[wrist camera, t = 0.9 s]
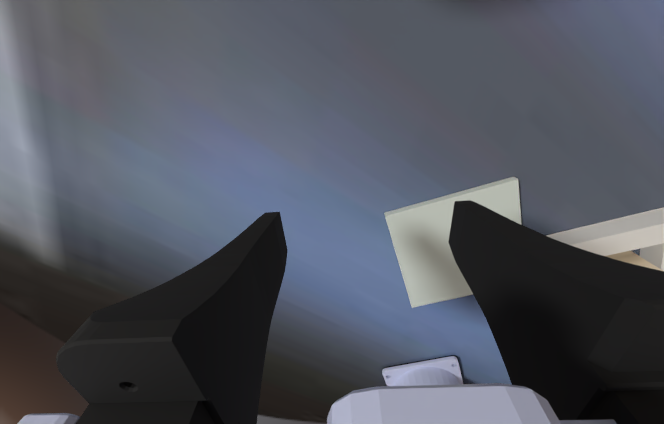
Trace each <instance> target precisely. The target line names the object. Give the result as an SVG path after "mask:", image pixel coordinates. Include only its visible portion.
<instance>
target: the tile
mask: <svg viewBox="0 0 664 424" xmlns="http://www.w3.org/2000/svg"><path fill="white" fill-rule="evenodd" d="M466 200H471V201H473V202H476V203H478V204H480V205H482V206H484V207H486V208H488V209H490V210H492V211H494V212H496V213H498V214H500V215H502V216H504V217H506V218H508V219H510V220H512V221H514V222H516V223H518V224H521V210H520V197H519V184H518V179H517V178H515V177H511V178H507V179H503V180H500V181H496V182H493V183H489V184H486V185H482V186H478V187H475V188H471V189H468V190H464V191H460V192H457V193H453V194H450V195H446V196H443V197H439V198H435V199H432V200H428V201H425V202H421V203H417V204H414V205H410V206H407V207H403V208H400V209H396V210H392V211H389V212H385V213H384V214H385V218H386V221H387V224H388V228H389V231H390V235H391V238H392V241H393V245H394V248H395V252H396V255H397V259H398V262H399V265H400V269H401V272H402V276H403V279H404V282H405V286H406V289H407V293H408V296H409V300H410V303H411V306H412V307H417V306H422V305H426V304H431V303H436V302H440V301H445V300H450V299H454V298H459V297H464V296H468V295H473V293H472V291H471V289H470V287H469V286H468V284H467V282H466V280H465V278H464V277H463V275H462V273H461V271H460V269H459V267H458V266H457V264H456V262H455V259H454V256H453V254H452V251H451V248H450V245H449V243H448V241H449V235H450V228H451V222H452V215H453V209H454V203H455V201H466ZM521 225H522V224H521Z"/></svg>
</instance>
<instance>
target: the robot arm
mask: <svg viewBox="0 0 664 424" xmlns="http://www.w3.org/2000/svg"><path fill="white" fill-rule="evenodd" d="M448 243H449V245H450V248H451V251H452V254H453V256H454V259H455V262H456V264H457V266H458V267H459V269H460V271H461V273H462V275H463V277H464V278H465V280H466V282H467V284H468V286H469V287H470V289H471V291H472V293H473V295H474V296H475V298H476V300H477V302H478V304H479V305H480V307H481V309H482V311H483V313H484V315H485V317H486V319H487V322H488V324H489V326H490V329H491V331H492V333H493V336H494V338H495V341H496V343H497V346H498V348H499V351H500V353H501V356H502V359H503V361H504V364H505V366H506V369H507V372H508V374H509V377H510V380H511V383H512V385H509V384H501V383H494V384H463V380H462V376H461V371H460V367H459V362H458V359H457V357H455V356H449V357H444V358H438V359H433V360H427V361H422V362H416V363H410V364H405V365H399V366H394V367H388V368H384V369H383V370H382V373H383V377H384V379H385V382H386V384H387V386H379V387H372V388H366V389H360V390H355V391H352V392H350V393H349V394H347V395H345V396H344V397H342V398H340V399H338V400H337V401H336V402H335V403H334V404H333V405H332V407H331V409H330V412H329V415H328V418H327V424H664V271H660V270H656V269H651V268H647V267H643V266H639V265H634V264H631V263H627V262H623V261H619V260H616V259H612V258H609V257H605V256H602V255H599V254H595V253H592V252H589V251H586V250H583V249H580V248H577V247H574V246H571V245H569V244H566V243H563V242H560V241H558V240H555V239H552V238H550V237H547V236H545V235H543V234H540V233H538V232H536V231H534V230H531V229H529V228H527V227H525V226H523V225H521V224H518V223H516V222H514V221H512V220H510V219H508V218H506V217H504V216H502V215H500V214H498V213H496V212H494V211H492V210H490V209H488V208H486V207H484V206H482V205H480V204H478V203H476V202H473V201H471V200H466V201H455V203H454V209H453V215H452V222H451V228H450V235H449V241H448ZM286 258H287V246H286V241H285V236H284V231H283V226H282V221H281V216H280V212H271V213H264V214H263V215H262V216H261V217H259V218H258V219H257V220H256V221H255V222H254V223H253V224H251V225H250V226H249V227H248V228H247V229H246V230H244V231H243V232H242V233H241V234H240V235H239V236H237V237H236V238H235V239H234V240H232V241H231V242H230V243H229V244H227V245H226V246H225V247H223V248H222V249H221V250H220V251H218V252H217V253H215V254H214V255H213V256H211V257H210V258H208V259H206V260H205V261H203V262H202V263H200V264H199V265H197V266H195V267H194V268H192V269H190V270H188V271H186V272H185V273H183V274H181V275H179V276H177V277H175V278H174V279H172V280H170V281H168V282H166V283H164V284H162V285H159V286H157V287H155V288H153V289H151V290H149V291H146V292H144V293H142V294H139V295H137V296H135V297H132V298H130V299H127V300H124V301H122V302H119V303H116V304H114V305H111V306H108V307H106V308H103V309H100V310H97V311H95V312H93V314H92V315H91V316H90V317H89V318H88V319H87V320H86V321H85V322H84V323H83V325H82V326H81V327H80V328H79V329H78V330H77V331H76V332H75V333H74V335H73V336H72V337H71V338H70V339H69V340H68V341H67V342H66V343H65V345H64V346H63V347H62V348H61V349H60V350H59V351H58V353H57V358H56V362H57V366H58V369H59V371H60V373H61V374H62V375H63V377H64V378H65V379H66V380H67V381H68V382H69V383H70V384H71V385H72V386H73V387H74V388H75V389H76V390H77V391H78V392H79V393H80V395H81V396H82V397H83V398H84V399H85V400H86V401H87V402H88V403H89V405H88V407H87V408H86V410H85V411H84V413H83V414H82V416H81V417H79V416H76V415H73V414H68V413H50V414H49V413H48V414H47V413H46V414H28V415H25V416H24V417H23V418H22V419H21V421H20V422H19V423H18V424H256V423H257V414H258V405H259V397H260V389H261V381H262V373H263V367H264V360H265V353H266V347H267V341H268V335H269V329H270V324H271V319H272V315H273V312H274V308H275V305H276V301H277V297H278V294H279V290H280V287H281V283H282V280H283V276H284V272H285V266H286Z"/></svg>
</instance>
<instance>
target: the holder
mask: <svg viewBox="0 0 664 424" xmlns="http://www.w3.org/2000/svg"><path fill="white" fill-rule="evenodd" d="M546 236H547V237H550V238H552V239H555V240H558V241H560V242H563V243H566V244H569V245H571V246H574V247H577V248H580V249H583V250H586V251H589V252H592V253H595V254H599V255H602V256H608V255H612V254H617V253H621V252H626V251H630V250H635V249H640V255H639V256H640V257H641V258H643V259H645V260H646V261H648V262H650V263H651V264H653V265H654V266H656V267H658V268H659V269H661V270H663V271H664V207H663V208H659V209H654V210H650V211H646V212H642V213H638V214H634V215H629V216H625V217H621V218H617V219H613V220H609V221H604V222H600V223H596V224H592V225H588V226H583V227H579V228H575V229H571V230H567V231H563V232H558V233H554V234H550V235H546Z"/></svg>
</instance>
